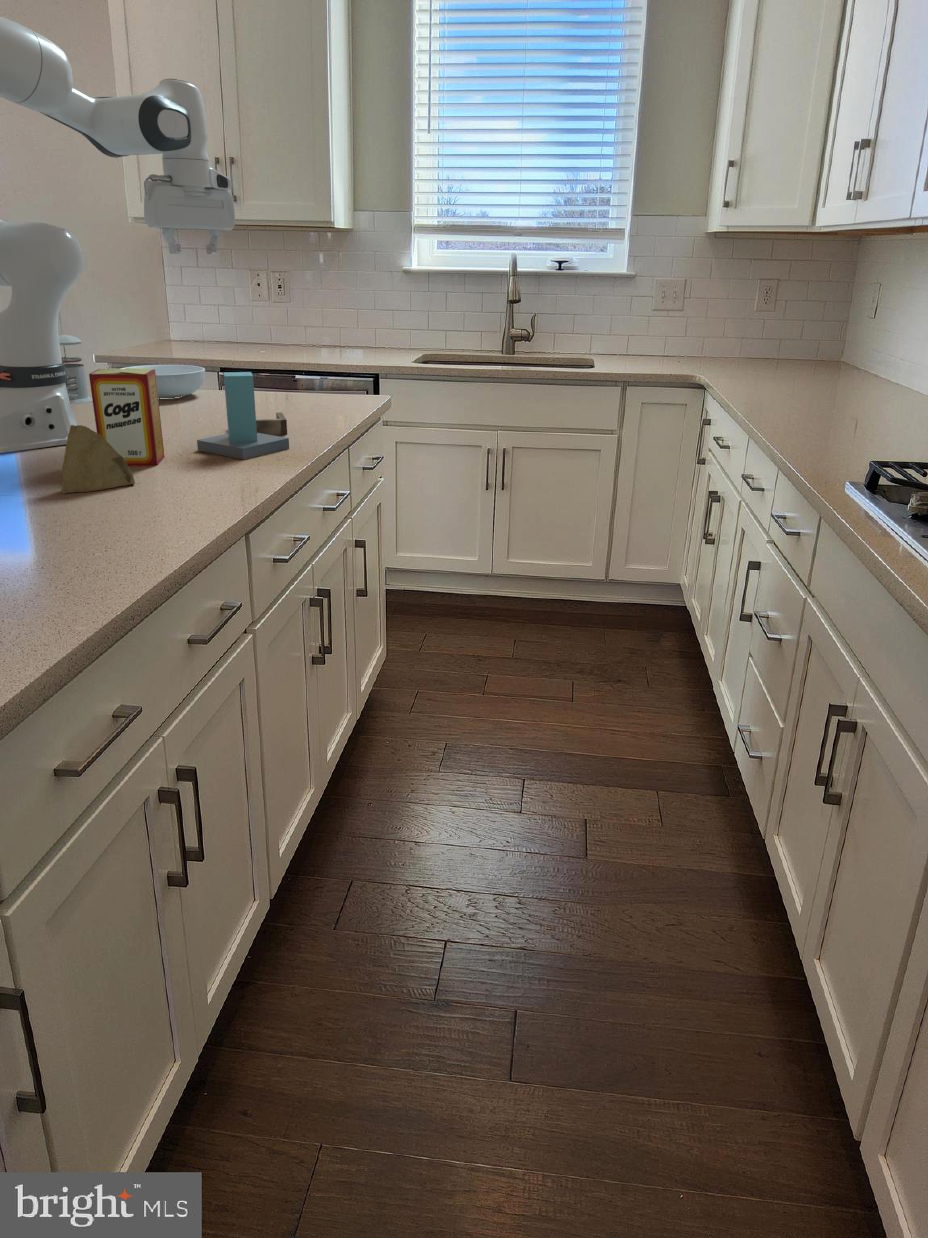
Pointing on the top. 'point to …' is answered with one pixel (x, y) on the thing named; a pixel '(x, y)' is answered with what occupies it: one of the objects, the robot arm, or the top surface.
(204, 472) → the top surface
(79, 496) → the top surface
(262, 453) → the slate tile
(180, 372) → the serving bowl
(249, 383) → the teal block
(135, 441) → the baking soda box
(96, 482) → the rock
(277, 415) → the walnut cubby
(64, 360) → the french press
